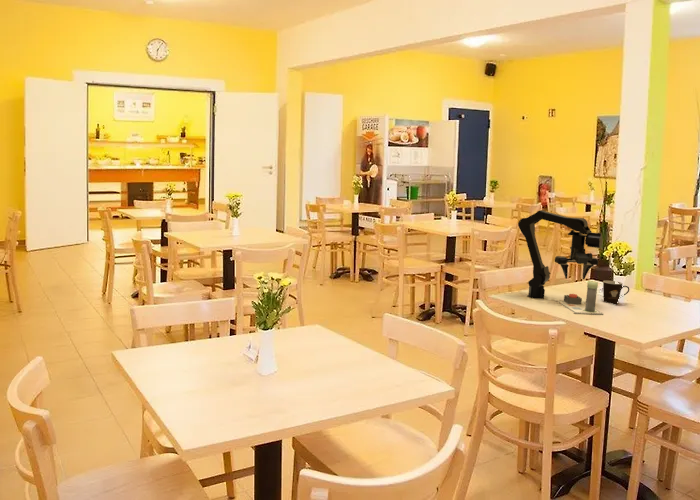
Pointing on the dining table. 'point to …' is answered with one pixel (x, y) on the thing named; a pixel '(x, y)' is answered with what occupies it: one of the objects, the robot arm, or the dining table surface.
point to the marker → (591, 296)
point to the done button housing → (572, 300)
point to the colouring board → (579, 308)
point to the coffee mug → (612, 291)
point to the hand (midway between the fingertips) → (574, 278)
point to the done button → (572, 295)
